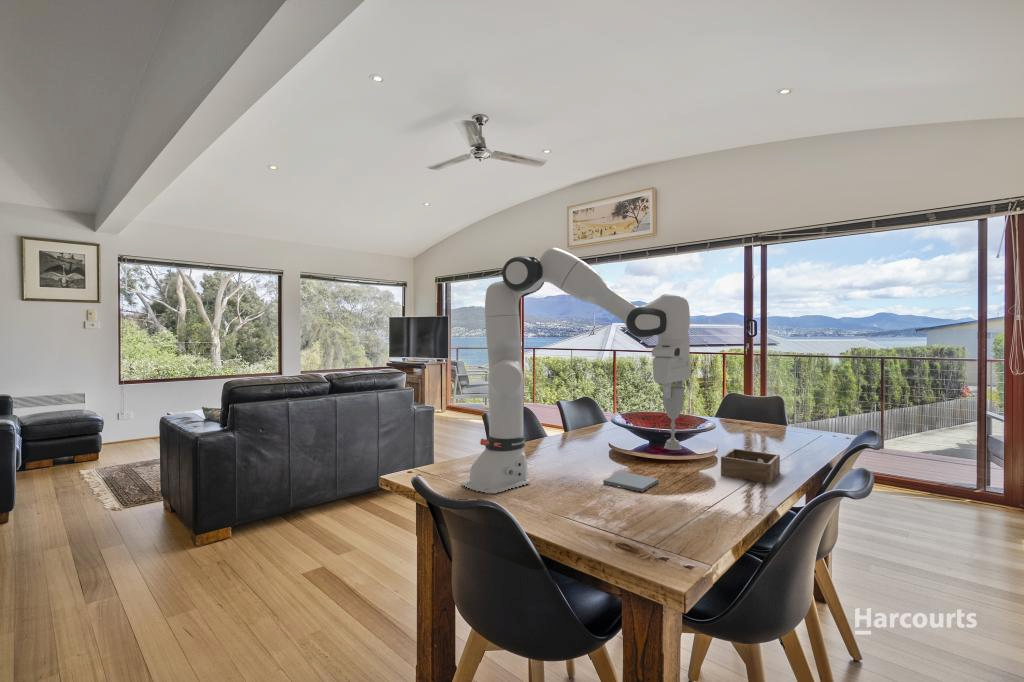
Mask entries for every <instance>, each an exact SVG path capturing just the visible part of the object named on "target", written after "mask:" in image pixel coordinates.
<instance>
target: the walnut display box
mask: <svg viewBox="0 0 1024 682" xmlns="http://www.w3.org/2000/svg"><path fill="white" fill-rule="evenodd" d="M750 457H753V458H756V461H757V460H758V458H759V459H762V460H763V461H764V463H761V462H755V461H748V459H749V458H750ZM743 458H744V459H745V460H743ZM780 459H781V457H780V454H774V453H768V452H761V451H755V450H748V449H741V448H740V449H739V448H732V449H730V450H729V451H727V452H726V453H724V454H722V456H721V457H720V475H721V476H724V475H725V477H731V478H736V477H737V479H741V478H742V480H747V479H748V480H747V481H752V480H753V481H752V482H758V483H759V482H760V483H765V484H771V483H772V482H773V481H774V480H775V479H776V477H777V476H779V474H780V468H781V465H780V464H781V463H780V462H781V461H780Z"/></svg>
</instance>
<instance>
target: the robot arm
mask: <svg viewBox="0 0 1024 682" xmlns="http://www.w3.org/2000/svg"><path fill="white" fill-rule="evenodd" d="M501 272H502V280H501V281H496V282H493V283H491V284H489V286H488V287H487V288H486V292H485V299H484V316H485V320H484V321H485V333H486V334H485V335H486V347H487V361H488V369H489V370H488V411H489V412H488V414H489V416H488V417H489V418H488V419H489V421H488V423H489V425H488V426H489V429H488V432H489V433H488V434H489V435H487V439H485V438H481V439H480V441H479V444H480V445H481V446H484V450H483V452H481V453H480V455H479V456H478V457H477V458H476V460H475V461H473V463H472V464H471V466H470V472H469V478H467V479H465V480H463V481H462V484H463V485H462V486H463V487H464V486H465V487H464V488H466V487H467V488H466V489H468V488H470V489H469V490H471V489H473V490H472V491H474V490H477V491H476V492H478V491H481V492H480V493H482V492H485V494H498V492H499V493H501V492H505V490H506V491H509V490H508V489H510V490H512V489H511V488H513V489H516V488H515V487H517V488H520V487H519V486H521V487H523V486H522V485H524V486H527V485H526V484H528V485H531V479H530V477H529V472H528V461H527V456H526V453H525V450H524V449H525V448H524V447H525V446H526V445H525V443H526V439H525V434H524V397H525V396H524V389H525V388H524V385H525V384H524V383H525V381H524V380H525V379H524V378H525V376H524V371H523V361H522V339H521V326H520V325H521V321H520V311H519V310H520V308H519V307H520V306H519V304H520V299H521V298H524V297H527V296H528V295H529V296H530V295H531V294H534V293H537V292H538V291H539V290H541V288H543V286H544V285H545V283H549V284H551V285H553V286H555V287H556V288H557V289H559V290H561V291H563V292H564V294H567V295H569V296H571V297H573V298H575V299H578V300H580V301H583V302H587V303H590V304H593V305H596V306H599V307H600V308H602V309H604V310H605V311H606V312H609V314H612V315H613V316H614V317H616V318H617V319H618V320H620V321H621V322H622V323H623V324H624V325H625V327H626V328H627V330H628V332H629V333H630V334H631V335H632V336H633V337H635V338H637V339H640V340H647V339H650V338H653V337H654V336H656V337H657V338H658V339H657V344H656V345H655V346H654V347H653V348H652V349H651V356H652V357H654V358H653V361H652V373H653V374H652V375H653V379H654V383H655V384H662V386H661V388H662V387H663V389H662V391H663V390H664V397H665V398H671V397H672V392H671V387H670V386H672V383H674V382H675V386H681V387H684V384H685V381H686V380H690V379H691V375H692V363H691V362H692V361H691V356H690V349H691V345H690V344H691V343H690V341H691V339H690V336H689V335H690V333H689V329H690V325H691V317H690V315H691V312H690V305H689V302H688V300H687V299H686V298H685V297H684V296H681V295H678V294H671V293H670V294H667V293H666V294H661V295H660V296H659V297H657V298H656V299H654V300H652V301H650V302H649V303H646V304H642V305H640V306H639V305H636V304H634V303H632V302H630V301H629V300H628V299H626V298H624V297H623V296H621V295H619V294H618V293H617V292H615V291H614V290H612V288H611V287H609V286H608V285H607V284H606V282H605V281H604V280H603V278H602V277H601V275H600V274H599V273H598V272H597V271H596V270H595V269H594V268H593V267H592V266H591V265H589V264H588V263H587V262H585V261H584V260H582V259H581V258H579V257H578V256H576V255H574V254H572V253H570V252H568V251H566V250H564V249H561V248H560V247H559V248H558V247H550V248H548V249H546V250H545V251H544V252H543V253H542V254H541V256H540V257H539V258H537V257H535V256H522V255H520V256H514V257H512V258H510V259H508V260H507V261H506V262H505V263H504V265H503V268H502V271H501Z"/></svg>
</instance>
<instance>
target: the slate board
mask: <svg viewBox="0 0 1024 682" xmlns="http://www.w3.org/2000/svg"><path fill="white" fill-rule="evenodd" d="M602 483H604V484H603V485H606V484H609V485H608V486H611V485H614V486H613V487H615V486H620V487H624V488H628V489H633V490H637V491H642V492H641V493H644V492H645V491H644V490H646V489H647V490H649V489H650V488H649V487H651V486H652V487H654V486H655V484H656V485H657V484H659V483H660V482H659V478H655V477H650V476H647V475H642V474H636V473H632V472H631V473H630V472H626V471H621V470H620V471H619V472H617V473H615V474H613V475H610V476H608V477H607V478H604V479H603V480H602ZM653 485H654V486H653ZM652 487H651V488H652ZM624 488H623V489H624ZM648 488H649V489H648ZM628 489H627V490H628ZM633 490H632V491H633ZM647 490H646V491H647ZM637 491H636V492H637ZM643 491H644V492H643Z"/></svg>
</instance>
